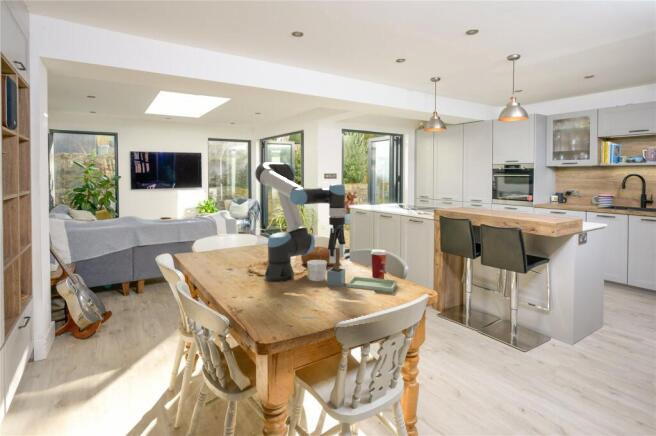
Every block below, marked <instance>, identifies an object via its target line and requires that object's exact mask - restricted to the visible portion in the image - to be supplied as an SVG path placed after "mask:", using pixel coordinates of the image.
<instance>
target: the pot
mask: <svg viewBox="0 0 656 436" xmlns="http://www.w3.org/2000/svg"><path fill="white" fill-rule="evenodd" d="M345 284H346V268H341V267H340V268H339V272H337V271H333V267H330V268H329V269H328V270H326V286H332V287H342V286H344V285H345Z"/></svg>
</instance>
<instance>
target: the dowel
mask: <svg viewBox="0 0 656 436" xmlns="http://www.w3.org/2000/svg"><path fill="white" fill-rule="evenodd" d="M335 249H336V263H333V265H332V268H333V271H337V272H339V268H341V267H340V264H341V263H340V260H341V259H340V258H341V257H340V248H339V247H338V246H335Z"/></svg>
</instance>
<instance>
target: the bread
mask: <svg viewBox="0 0 656 436" xmlns="http://www.w3.org/2000/svg"><path fill="white" fill-rule="evenodd" d="M300 260H301V262H302V263H303V265H306V266H307V261H310V260H324V261H326V262H327V264H326V267H330V266H333V263H330V249H328V247H325V246H314V249H313V251H312V252H311V253H309V254H305V255H300Z"/></svg>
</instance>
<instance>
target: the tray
mask: <svg viewBox="0 0 656 436" xmlns="http://www.w3.org/2000/svg"><path fill="white" fill-rule="evenodd" d="M397 282H398V281H397V280H396V279H387V278H386V279H385V278H384V279H383V278H380V279H378V278H373V277H365V276H364V277H363V276H353V277H351V278H350V279H349V280H348V281H347V282H346V283H345V284H346V288H354V289H362V290H363V289H364V290H371V291H372V290H373V292H374V293H375V292H376V293H384V294H393V293H394V291H395V289H396V287H397V285H398V283H397Z"/></svg>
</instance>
